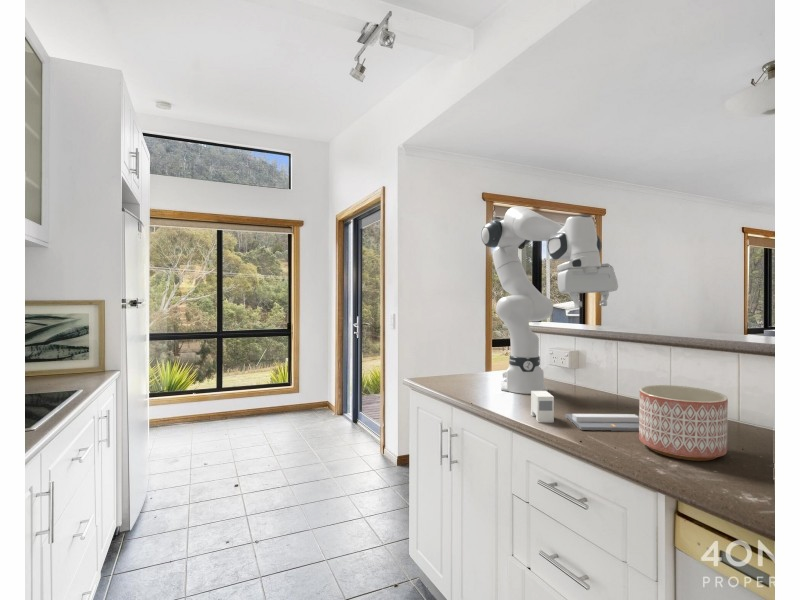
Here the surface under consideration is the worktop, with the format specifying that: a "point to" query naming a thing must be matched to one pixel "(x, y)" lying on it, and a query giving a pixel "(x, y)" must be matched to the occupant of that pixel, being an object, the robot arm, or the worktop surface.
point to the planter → (683, 421)
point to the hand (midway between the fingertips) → (591, 306)
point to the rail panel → (606, 425)
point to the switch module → (542, 406)
